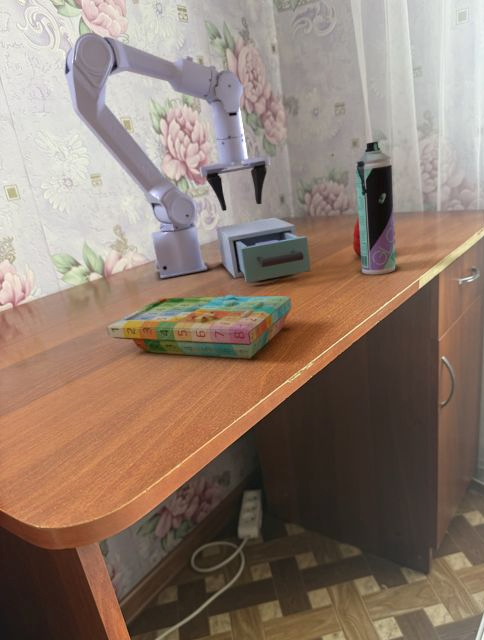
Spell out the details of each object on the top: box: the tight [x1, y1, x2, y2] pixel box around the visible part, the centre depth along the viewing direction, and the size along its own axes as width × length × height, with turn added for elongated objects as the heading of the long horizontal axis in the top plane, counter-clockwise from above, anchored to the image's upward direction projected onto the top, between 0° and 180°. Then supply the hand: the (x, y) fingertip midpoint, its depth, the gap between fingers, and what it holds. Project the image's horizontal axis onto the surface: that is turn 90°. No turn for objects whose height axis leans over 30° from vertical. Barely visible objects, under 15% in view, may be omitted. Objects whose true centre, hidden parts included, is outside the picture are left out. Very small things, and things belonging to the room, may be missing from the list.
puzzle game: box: [106, 294, 293, 360], centre depth 63 cm, size 12×5×20 cm
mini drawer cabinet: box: [215, 217, 297, 279], centre depth 99 cm, size 15×13×8 cm
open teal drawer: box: [233, 231, 311, 284], centre depth 88 cm, size 18×11×6 cm, turn 13°
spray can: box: [355, 141, 396, 275], centre depth 80 cm, size 6×6×20 cm
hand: (241, 206), depth 106 cm, fingers open, 7 cm apart
